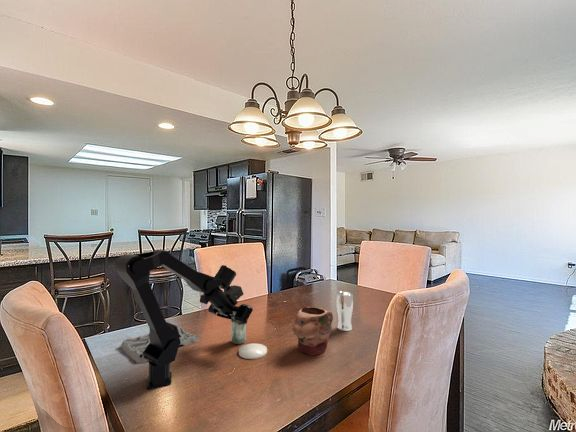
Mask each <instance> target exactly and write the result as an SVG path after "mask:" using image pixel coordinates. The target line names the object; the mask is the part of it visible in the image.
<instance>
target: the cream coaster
mask: <svg viewBox="0 0 576 432" xmlns="http://www.w3.org/2000/svg"><path fill="white" fill-rule="evenodd" d="M267 353H268V348H267V346H265V344H261V343H248V344H244V345H242V346H241V347H239V349H238V356H239V357H241V358H243V359H246V360H257V359H261V358H263V357H265V356H266V355H267Z"/></svg>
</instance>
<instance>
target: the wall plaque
mask: <svg viewBox="0 0 576 432" xmlns="http://www.w3.org/2000/svg"><path fill="white" fill-rule="evenodd" d="M176 326H177V328H178V333H179V334H180V335H181V337H179V338H180V341H181V344H180V345H179V347H180V346H181V345H182V346H187V345H190V344H193V343H197V342H199V340H200V339H199V336H198V335H197V334H192V333H190V332H187V331H185V330H184V328H183V327H182V326H180V325H176ZM149 343H150V339H149V333H147V334H145V335H140V336H139V335H138V337H131V338H129V337H128V338H126V339H124V340H123V341H122V342H121V344H120V346H121V350H123V352H124V353H125V354H126V355H127V356H129V357H130V358H131V359H132V360H133V361H135V363H137V364H146V363H147V362H149V361H148V360H147V359H144V357H143V354H142V353H143V351H144V350H145V349H146V347H147V346H148V345H149Z"/></svg>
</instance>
